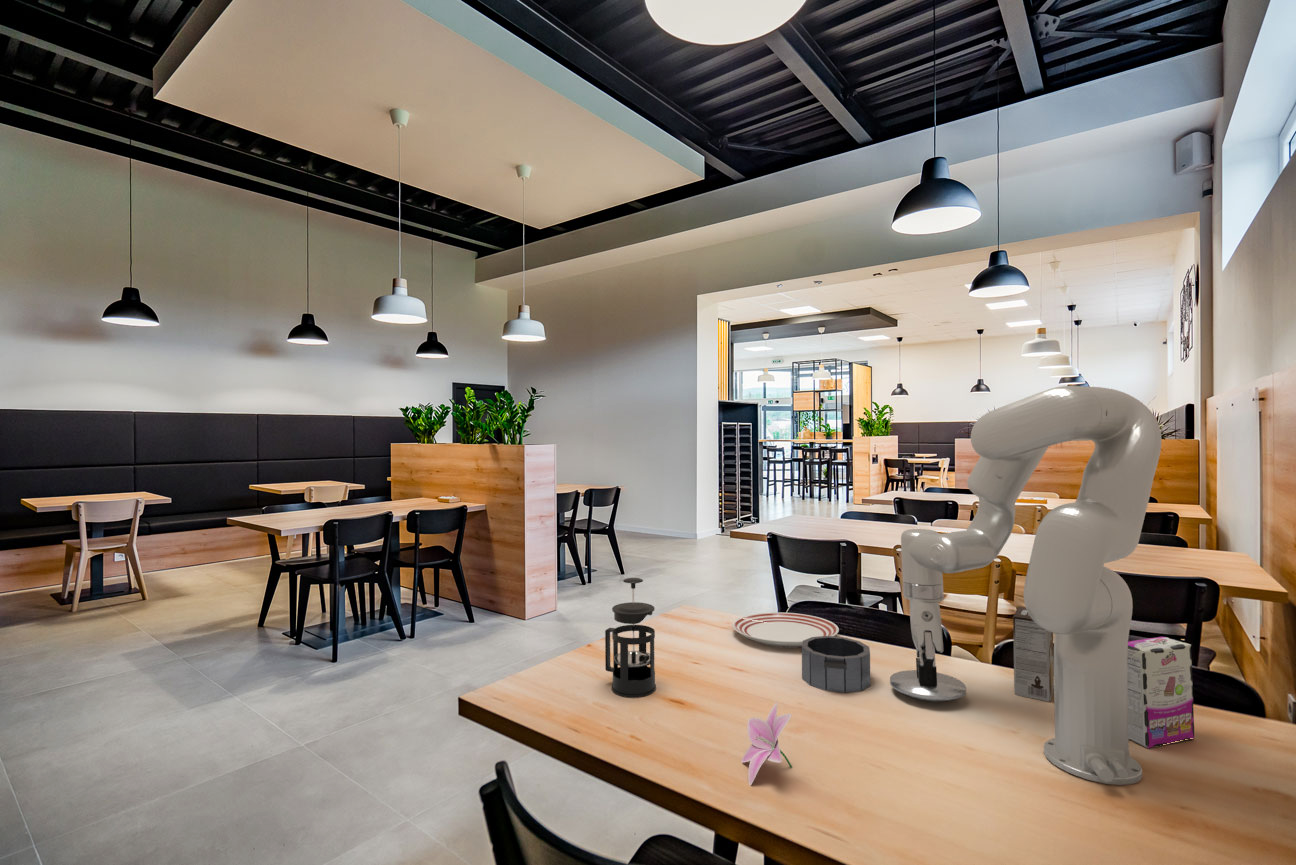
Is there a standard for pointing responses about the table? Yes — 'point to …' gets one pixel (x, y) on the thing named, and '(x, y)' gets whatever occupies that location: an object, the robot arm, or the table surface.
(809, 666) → the pot
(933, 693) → the lid
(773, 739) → the lily
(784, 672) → the table surface
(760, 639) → the dinner plate
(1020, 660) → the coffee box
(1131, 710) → the candy bar box
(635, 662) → the french press
